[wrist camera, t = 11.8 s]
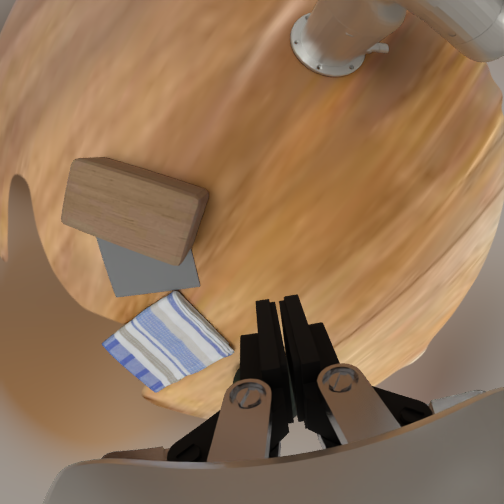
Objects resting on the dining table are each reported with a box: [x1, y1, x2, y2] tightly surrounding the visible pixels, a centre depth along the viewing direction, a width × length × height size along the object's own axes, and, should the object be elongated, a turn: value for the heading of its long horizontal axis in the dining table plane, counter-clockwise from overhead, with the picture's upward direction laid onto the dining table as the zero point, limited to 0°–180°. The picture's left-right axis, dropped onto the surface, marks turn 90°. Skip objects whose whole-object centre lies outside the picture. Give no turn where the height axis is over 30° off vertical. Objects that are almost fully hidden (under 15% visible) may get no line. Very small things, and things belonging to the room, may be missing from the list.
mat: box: [96, 237, 200, 297], centre depth 47 cm, size 17×16×1 cm
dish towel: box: [102, 291, 234, 392], centre depth 52 cm, size 17×24×3 cm
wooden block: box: [61, 157, 209, 266], centre depth 39 cm, size 10×10×20 cm
